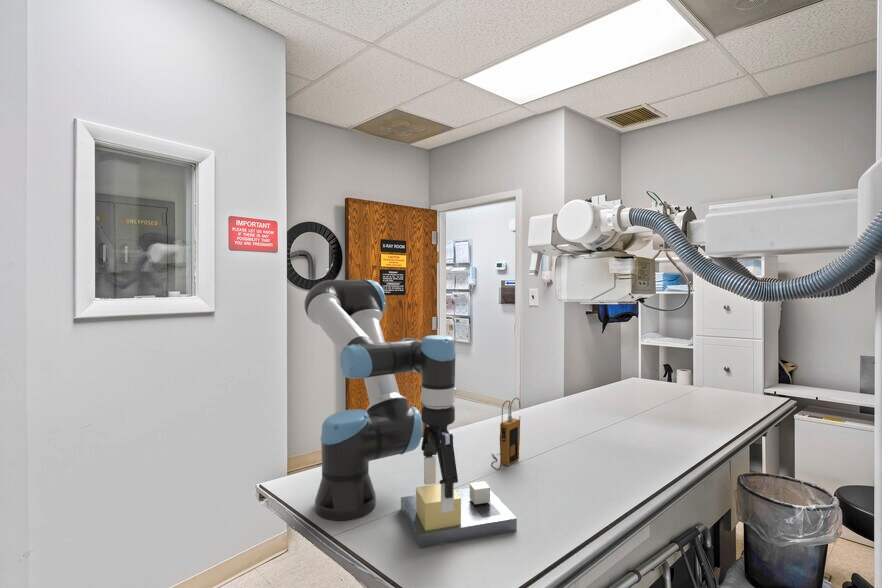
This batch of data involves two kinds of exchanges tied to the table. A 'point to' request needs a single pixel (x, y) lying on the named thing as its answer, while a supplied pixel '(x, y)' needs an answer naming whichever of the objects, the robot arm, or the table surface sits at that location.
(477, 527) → the breaker panel
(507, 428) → the multimeter
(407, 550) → the table surface
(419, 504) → the cap
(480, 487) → the block
